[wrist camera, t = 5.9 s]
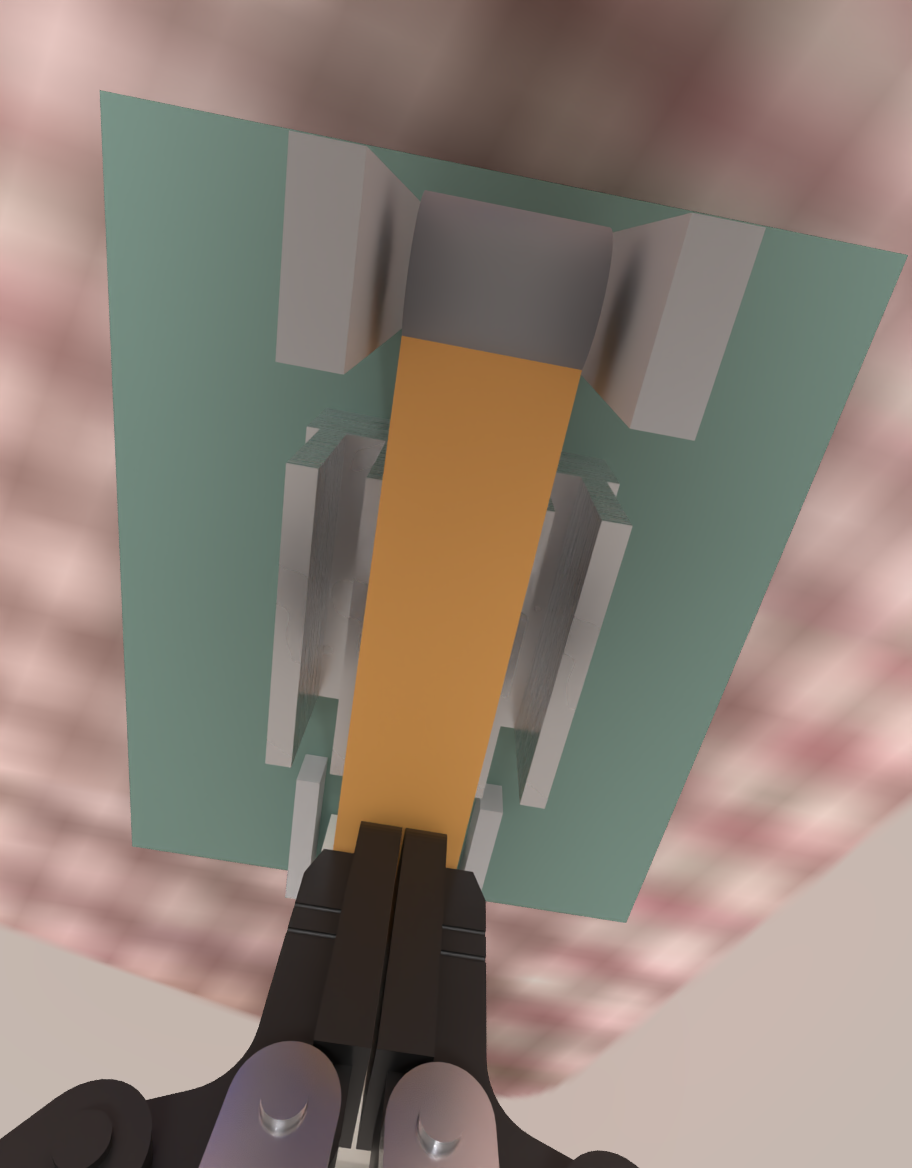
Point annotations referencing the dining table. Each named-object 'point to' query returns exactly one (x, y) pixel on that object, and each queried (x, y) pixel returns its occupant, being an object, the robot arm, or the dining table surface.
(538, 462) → the orange bar
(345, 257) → the board
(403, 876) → the robot arm
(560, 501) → the heatsink
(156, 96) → the dining table surface
